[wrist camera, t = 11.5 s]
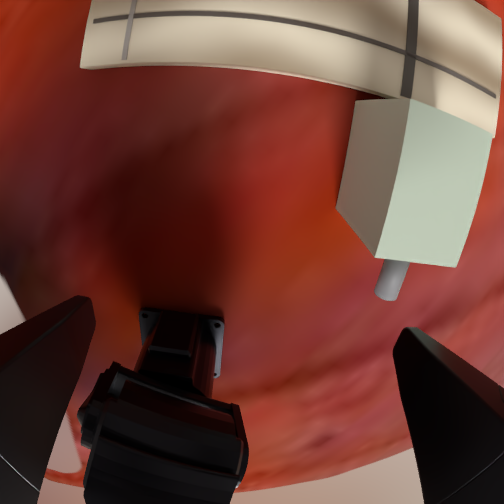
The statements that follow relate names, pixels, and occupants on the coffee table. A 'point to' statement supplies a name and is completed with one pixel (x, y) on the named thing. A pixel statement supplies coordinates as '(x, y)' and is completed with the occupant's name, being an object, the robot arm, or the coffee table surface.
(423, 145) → the block
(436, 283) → the coffee table surface
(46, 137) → the coffee table surface
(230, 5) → the birch board
